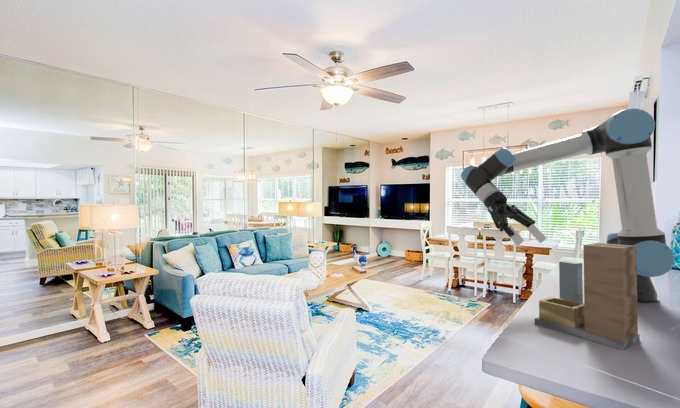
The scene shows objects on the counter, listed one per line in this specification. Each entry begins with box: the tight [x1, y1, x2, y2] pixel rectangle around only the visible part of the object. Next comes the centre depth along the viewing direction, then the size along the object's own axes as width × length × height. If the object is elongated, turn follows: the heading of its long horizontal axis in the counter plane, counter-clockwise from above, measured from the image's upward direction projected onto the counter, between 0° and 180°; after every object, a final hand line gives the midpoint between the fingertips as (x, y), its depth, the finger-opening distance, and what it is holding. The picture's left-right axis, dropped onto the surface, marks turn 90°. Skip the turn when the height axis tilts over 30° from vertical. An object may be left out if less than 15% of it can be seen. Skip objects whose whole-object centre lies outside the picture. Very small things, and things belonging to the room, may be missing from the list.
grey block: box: [558, 260, 584, 304], centre depth 101 cm, size 3×5×16 cm, turn 31°
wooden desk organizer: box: [534, 242, 641, 351], centre depth 87 cm, size 10×20×24 cm, turn 31°
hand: (532, 241), depth 110 cm, fingers open, 13 cm apart
